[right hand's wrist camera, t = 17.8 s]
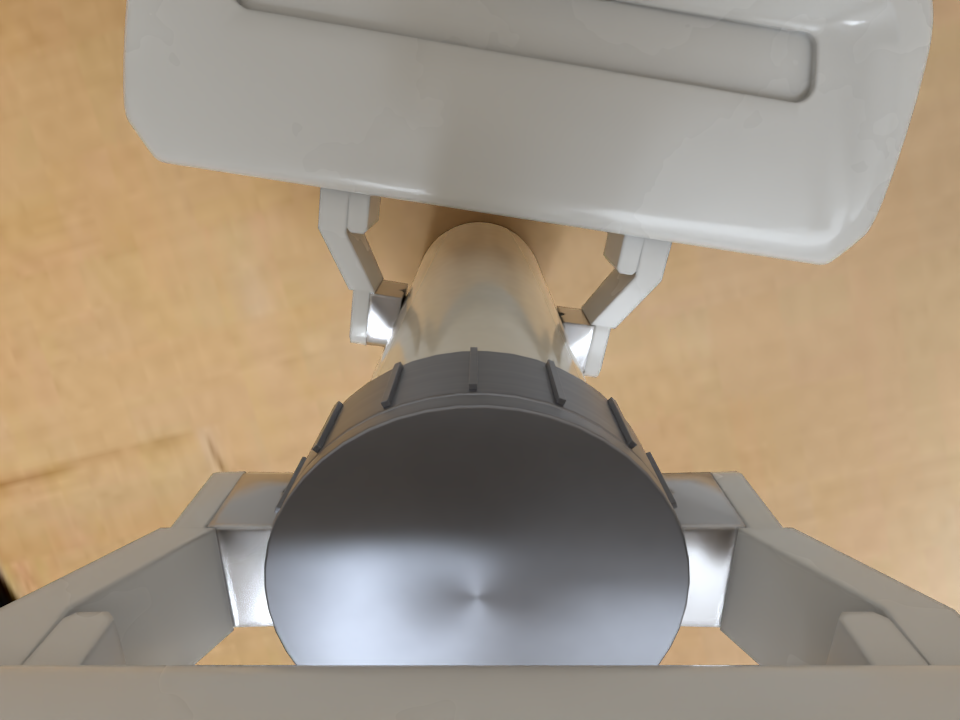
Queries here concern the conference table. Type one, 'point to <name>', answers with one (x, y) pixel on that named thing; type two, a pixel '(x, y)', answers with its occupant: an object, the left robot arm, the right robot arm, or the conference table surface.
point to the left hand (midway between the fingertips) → (476, 355)
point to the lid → (477, 525)
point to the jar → (479, 302)
